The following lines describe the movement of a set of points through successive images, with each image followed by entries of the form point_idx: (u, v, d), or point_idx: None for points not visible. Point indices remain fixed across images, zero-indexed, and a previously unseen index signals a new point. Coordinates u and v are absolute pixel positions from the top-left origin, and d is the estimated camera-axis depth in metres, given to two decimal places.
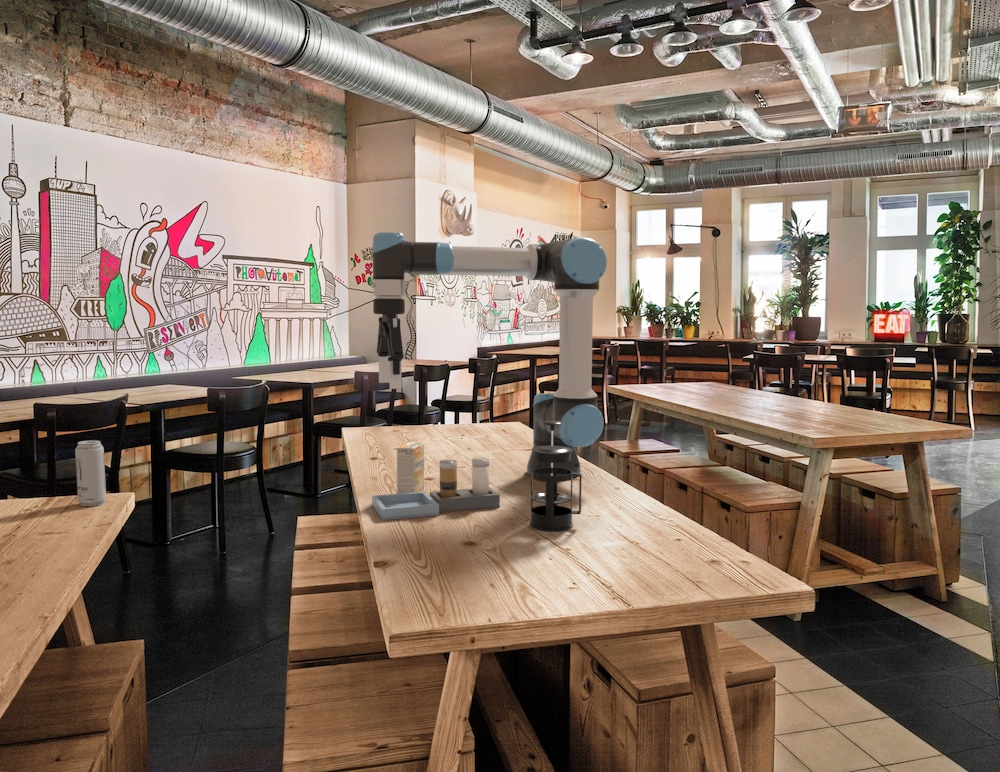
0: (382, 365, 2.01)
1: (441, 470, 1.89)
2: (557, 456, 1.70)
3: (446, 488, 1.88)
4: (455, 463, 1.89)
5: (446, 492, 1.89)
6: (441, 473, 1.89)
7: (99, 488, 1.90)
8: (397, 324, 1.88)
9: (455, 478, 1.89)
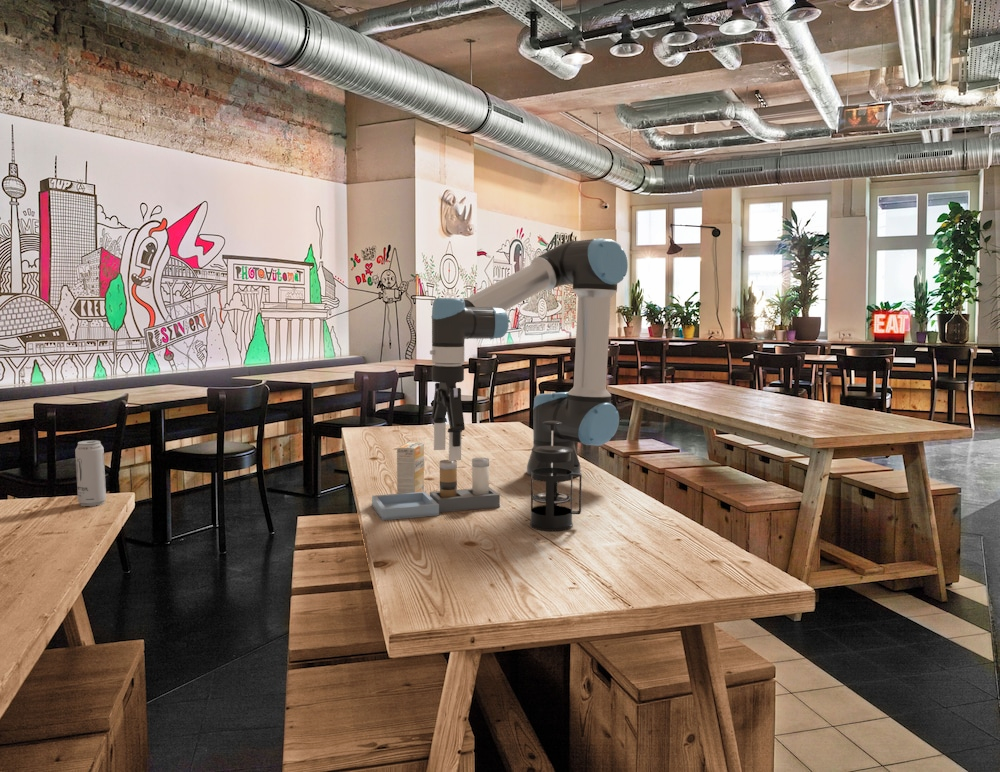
0: (437, 432, 1.95)
1: (441, 470, 1.89)
2: (557, 456, 1.70)
3: (446, 488, 1.88)
4: (455, 463, 1.89)
5: (446, 492, 1.89)
6: (441, 473, 1.89)
7: (99, 488, 1.90)
8: (458, 394, 1.82)
9: (455, 478, 1.89)
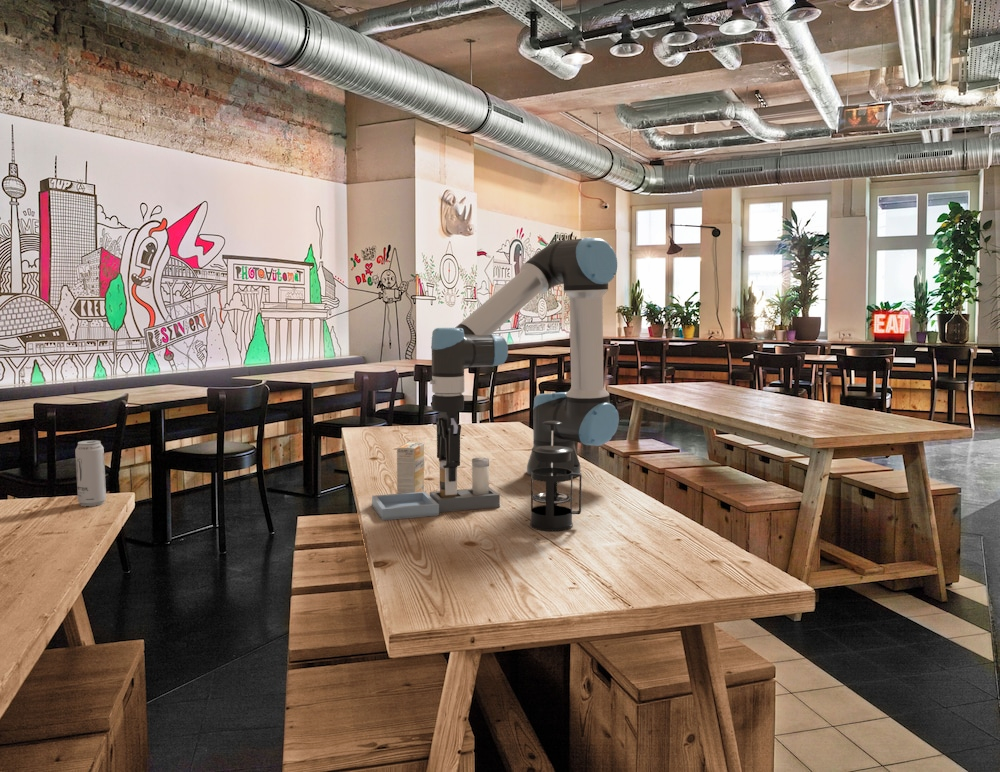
0: None
1: (441, 470, 1.89)
2: (557, 456, 1.70)
3: None
4: None
5: None
6: (441, 473, 1.89)
7: (99, 488, 1.90)
8: (457, 431, 1.83)
9: None
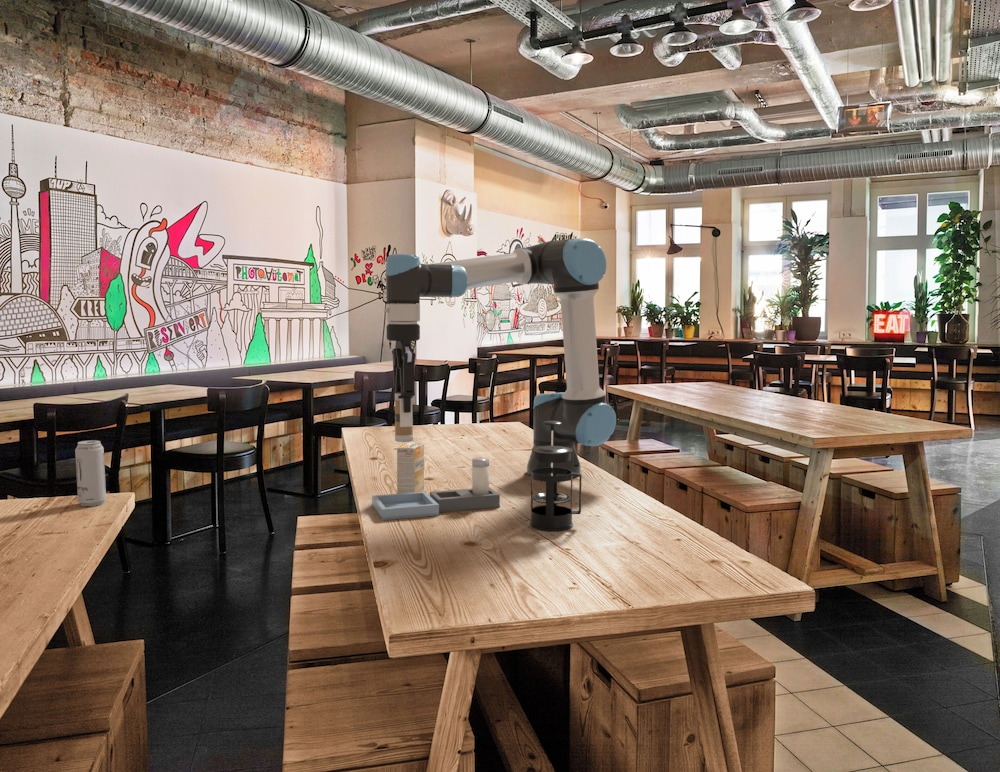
0: None
1: (396, 402, 1.83)
2: (557, 456, 1.70)
3: None
4: None
5: None
6: (396, 405, 1.83)
7: (99, 488, 1.90)
8: (412, 360, 1.78)
9: None
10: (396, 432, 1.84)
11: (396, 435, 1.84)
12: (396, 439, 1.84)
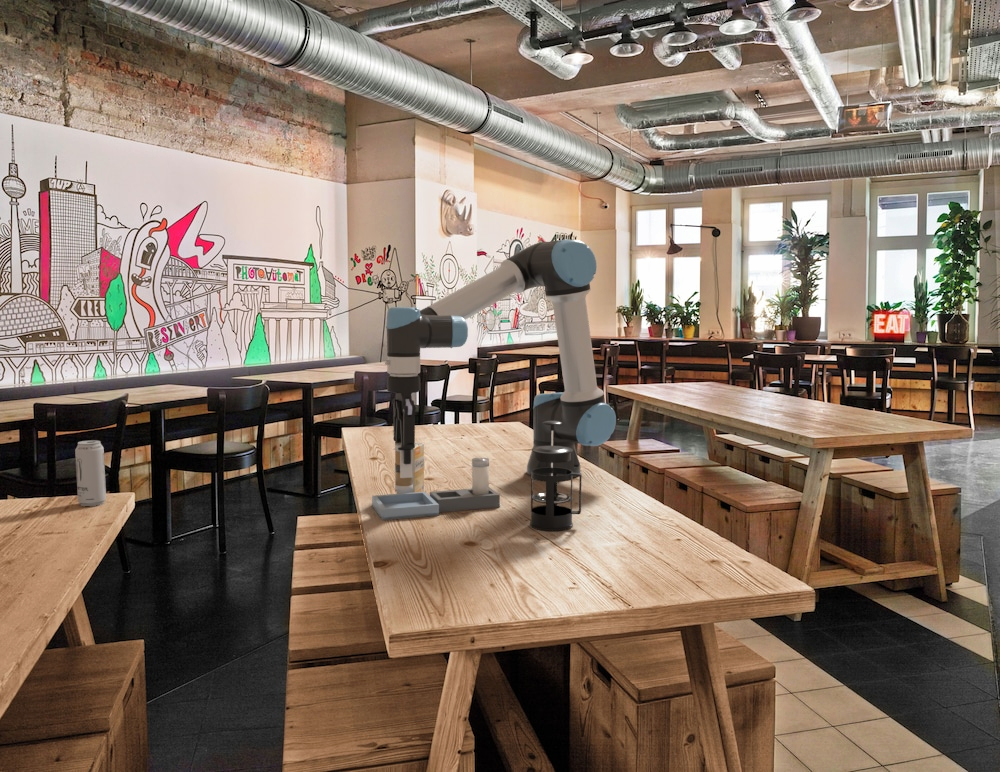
0: None
1: (396, 453, 1.85)
2: (557, 456, 1.70)
3: None
4: None
5: None
6: (396, 455, 1.85)
7: (99, 488, 1.90)
8: (412, 412, 1.79)
9: None
10: (396, 482, 1.85)
11: (396, 486, 1.86)
12: (396, 489, 1.86)
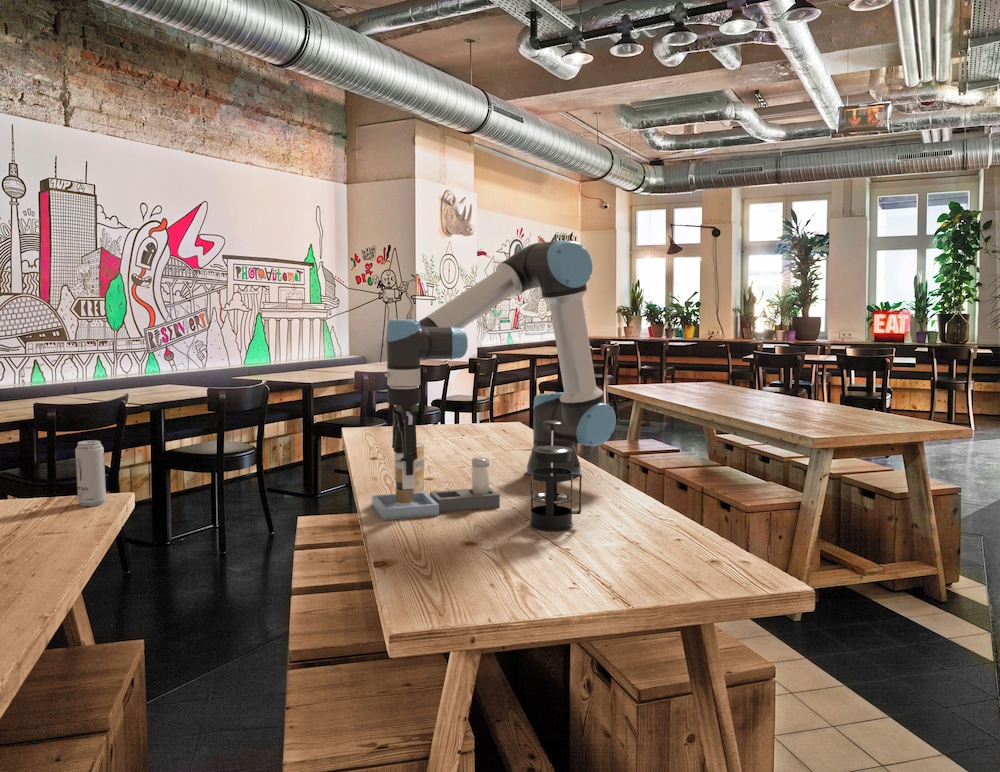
0: None
1: (397, 470, 1.86)
2: (557, 456, 1.70)
3: (402, 488, 1.85)
4: None
5: (402, 493, 1.85)
6: (397, 473, 1.86)
7: (99, 488, 1.90)
8: (412, 422, 1.79)
9: None
10: (397, 500, 1.86)
11: (397, 503, 1.86)
12: None
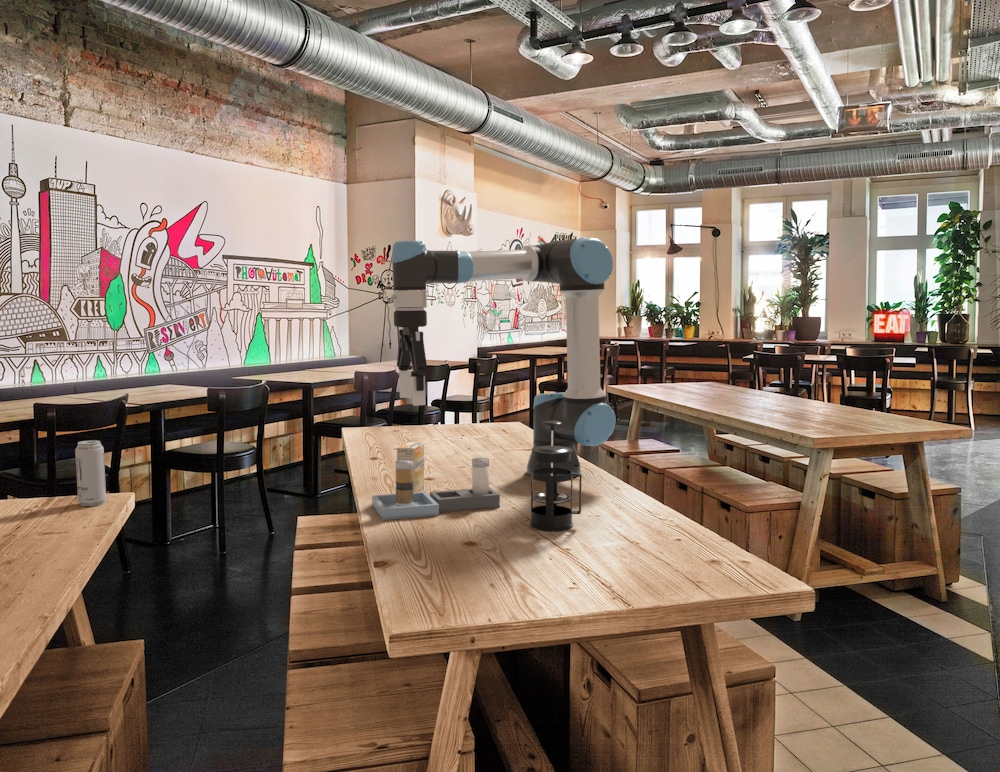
0: (403, 379, 1.92)
1: (397, 470, 1.85)
2: (557, 456, 1.70)
3: (402, 488, 1.85)
4: (411, 463, 1.85)
5: (401, 493, 1.85)
6: (397, 473, 1.85)
7: (99, 488, 1.90)
8: (420, 338, 1.79)
9: (411, 478, 1.86)
10: (397, 500, 1.86)
11: (397, 503, 1.86)
12: None
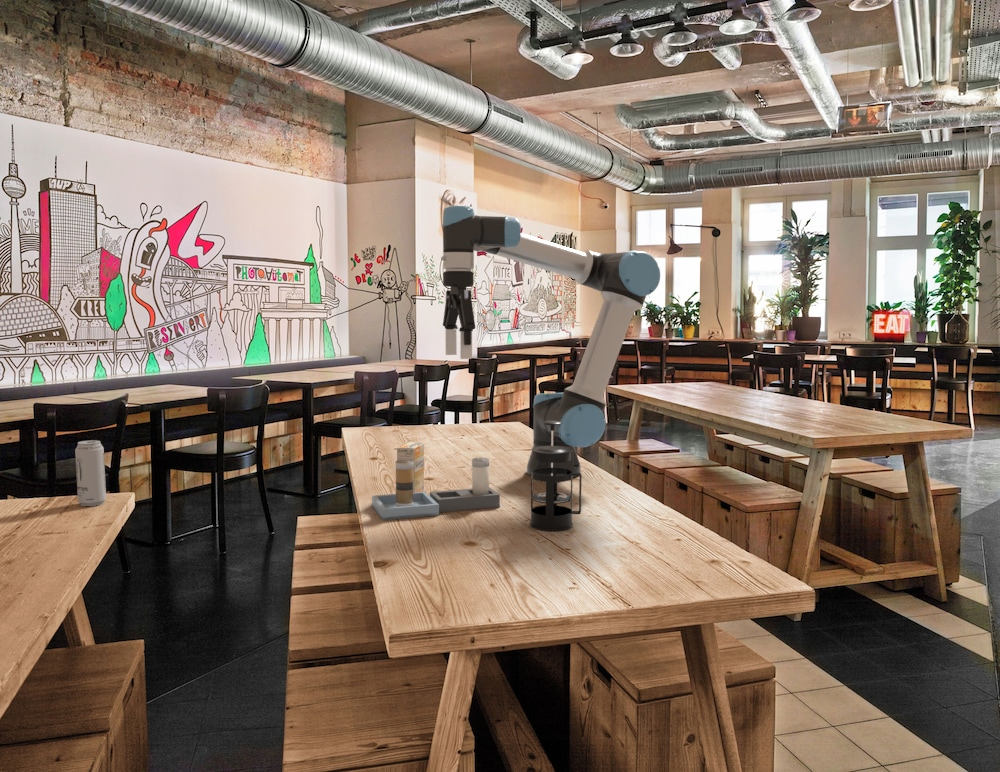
0: (449, 337, 2.06)
1: (397, 470, 1.85)
2: (557, 456, 1.70)
3: (402, 488, 1.85)
4: (411, 463, 1.85)
5: (402, 493, 1.85)
6: (397, 473, 1.85)
7: (99, 488, 1.90)
8: (468, 295, 1.92)
9: (411, 478, 1.86)
10: (397, 500, 1.86)
11: (397, 503, 1.86)
12: None
